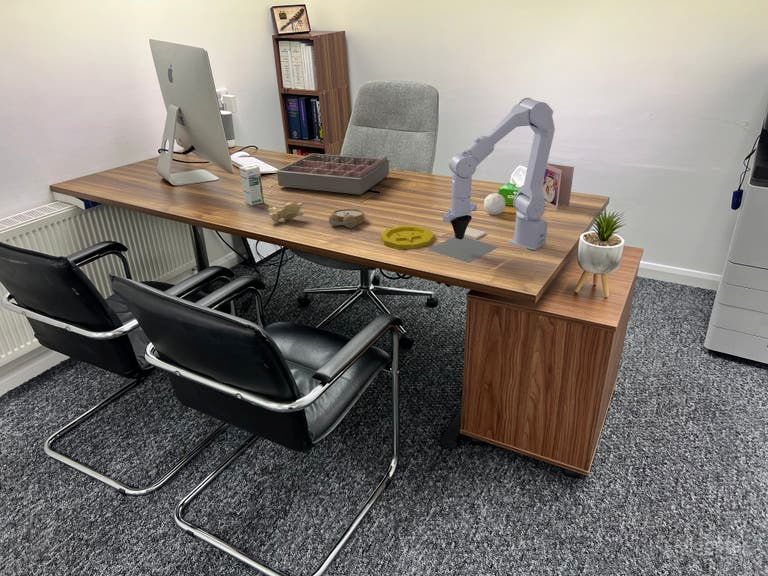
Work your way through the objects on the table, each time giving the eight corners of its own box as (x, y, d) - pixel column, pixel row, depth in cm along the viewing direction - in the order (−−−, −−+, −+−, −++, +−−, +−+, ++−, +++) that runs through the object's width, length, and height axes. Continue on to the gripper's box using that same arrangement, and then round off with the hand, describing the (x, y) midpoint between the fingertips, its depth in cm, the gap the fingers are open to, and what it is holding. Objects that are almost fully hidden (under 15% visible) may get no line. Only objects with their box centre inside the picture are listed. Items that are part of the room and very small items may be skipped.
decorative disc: (412, 255, 174) (412, 249, 173) (370, 242, 184) (370, 236, 184) (443, 238, 185) (443, 233, 185) (402, 227, 196) (402, 222, 195)
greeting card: (537, 201, 216) (542, 163, 209) (554, 199, 218) (559, 161, 211) (554, 210, 206) (559, 170, 200) (572, 208, 208) (577, 168, 202)
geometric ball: (497, 219, 207) (512, 202, 204) (491, 218, 200) (506, 201, 197) (483, 206, 209) (497, 189, 206) (476, 205, 202) (491, 187, 199)
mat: (498, 248, 176) (499, 247, 176) (469, 264, 166) (469, 263, 166) (457, 236, 186) (457, 234, 186) (427, 250, 176) (427, 249, 176)
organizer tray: (312, 170, 265) (311, 149, 260) (391, 177, 251) (391, 155, 247) (276, 189, 239) (273, 166, 234) (361, 198, 225) (360, 174, 220)
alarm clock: (368, 210, 203) (352, 216, 190) (368, 223, 205) (352, 230, 191) (340, 207, 207) (322, 213, 193) (340, 220, 208) (322, 227, 195)
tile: (475, 242, 183) (485, 236, 187) (475, 237, 182) (485, 232, 186) (457, 237, 187) (467, 231, 191) (458, 232, 186) (468, 227, 190)
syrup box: (251, 205, 219) (246, 169, 213) (244, 202, 223) (239, 166, 217) (264, 202, 223) (259, 166, 216) (256, 199, 226) (252, 163, 220)
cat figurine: (267, 203, 203) (298, 193, 202) (275, 218, 207) (305, 208, 207) (267, 216, 197) (299, 206, 196) (275, 231, 202) (307, 221, 201)
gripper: (464, 187, 174) (462, 228, 180) (435, 199, 164) (434, 241, 171) (483, 192, 169) (481, 234, 176) (454, 203, 160) (453, 247, 166)
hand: (459, 238), depth 173 cm, fingers closed
